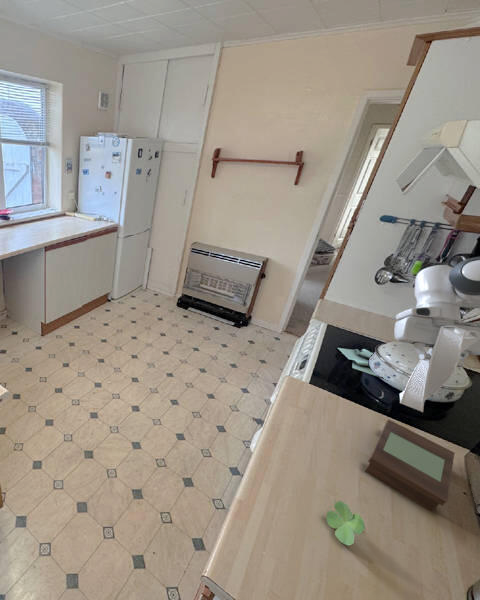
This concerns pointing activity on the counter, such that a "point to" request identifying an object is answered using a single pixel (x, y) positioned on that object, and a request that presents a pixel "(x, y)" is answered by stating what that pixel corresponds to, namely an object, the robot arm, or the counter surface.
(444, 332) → the white twisted piece
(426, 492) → the wooden jewelry box
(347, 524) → the seedling
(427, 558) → the counter surface
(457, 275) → the robot arm
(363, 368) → the cloth
